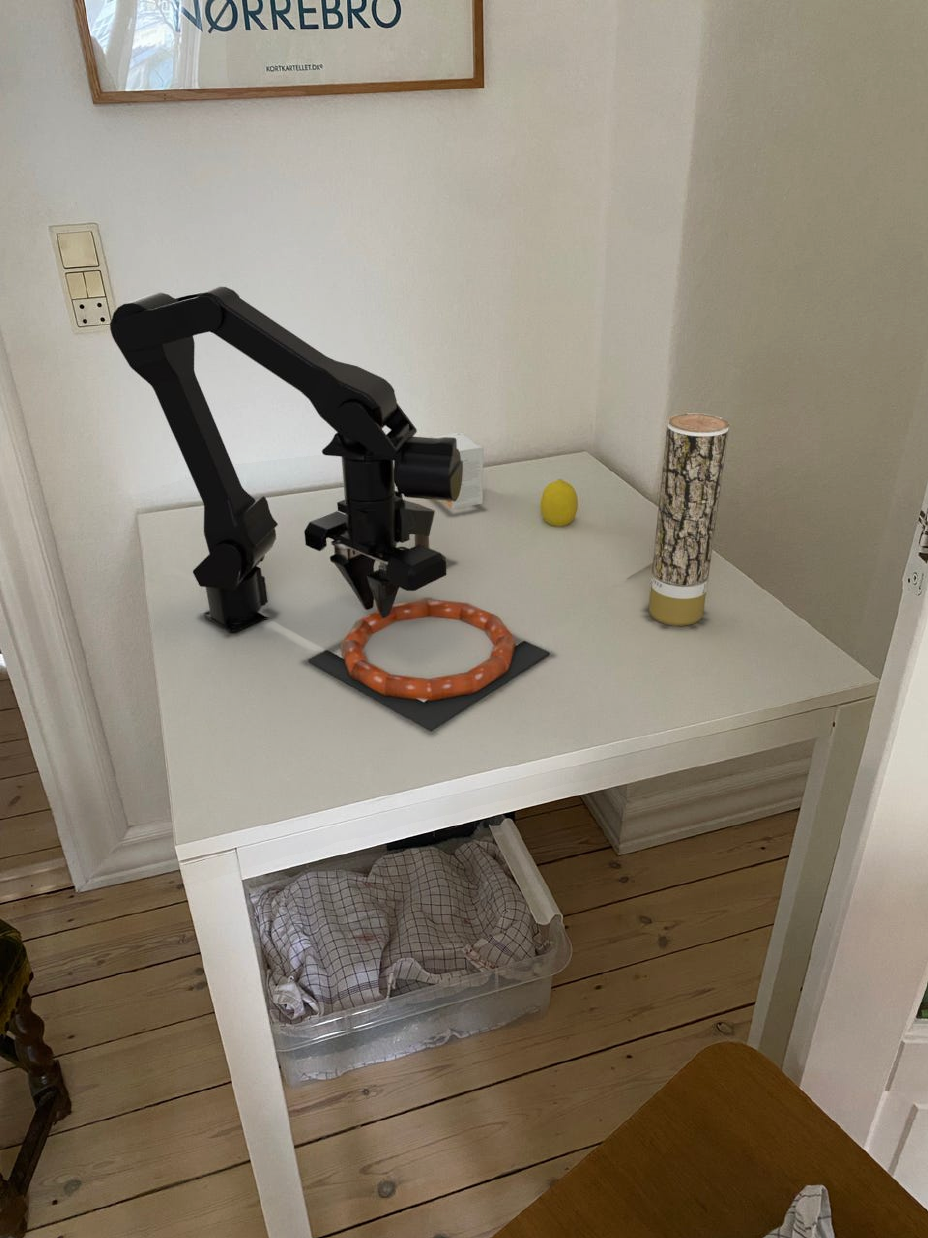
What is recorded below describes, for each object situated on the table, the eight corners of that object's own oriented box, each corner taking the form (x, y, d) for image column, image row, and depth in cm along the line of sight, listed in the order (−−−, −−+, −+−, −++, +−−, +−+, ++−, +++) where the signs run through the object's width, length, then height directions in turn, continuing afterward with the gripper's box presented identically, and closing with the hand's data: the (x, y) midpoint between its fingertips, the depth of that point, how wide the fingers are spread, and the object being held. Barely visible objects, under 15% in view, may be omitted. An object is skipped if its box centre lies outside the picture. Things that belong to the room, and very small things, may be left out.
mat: (430, 731, 96) (430, 728, 95) (308, 662, 107) (308, 659, 107) (549, 654, 108) (549, 652, 108) (428, 600, 120) (428, 597, 120)
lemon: (576, 522, 141) (579, 473, 137) (576, 537, 136) (579, 486, 132) (540, 521, 142) (541, 472, 138) (539, 536, 137) (540, 485, 133)
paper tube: (662, 632, 113) (684, 434, 100) (638, 606, 118) (657, 416, 106) (712, 624, 114) (740, 428, 102) (687, 598, 120) (710, 410, 107)
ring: (430, 726, 96) (429, 708, 94) (308, 658, 107) (306, 640, 106) (548, 651, 108) (548, 634, 107) (428, 597, 120) (427, 581, 119)
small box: (431, 498, 150) (429, 436, 145) (462, 492, 152) (462, 431, 147) (451, 516, 144) (450, 451, 138) (483, 510, 146) (484, 446, 140)
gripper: (479, 492, 103) (479, 613, 111) (367, 454, 114) (374, 567, 122) (408, 523, 96) (413, 649, 104) (296, 479, 107) (308, 597, 115)
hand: (377, 612), depth 112 cm, fingers closed
